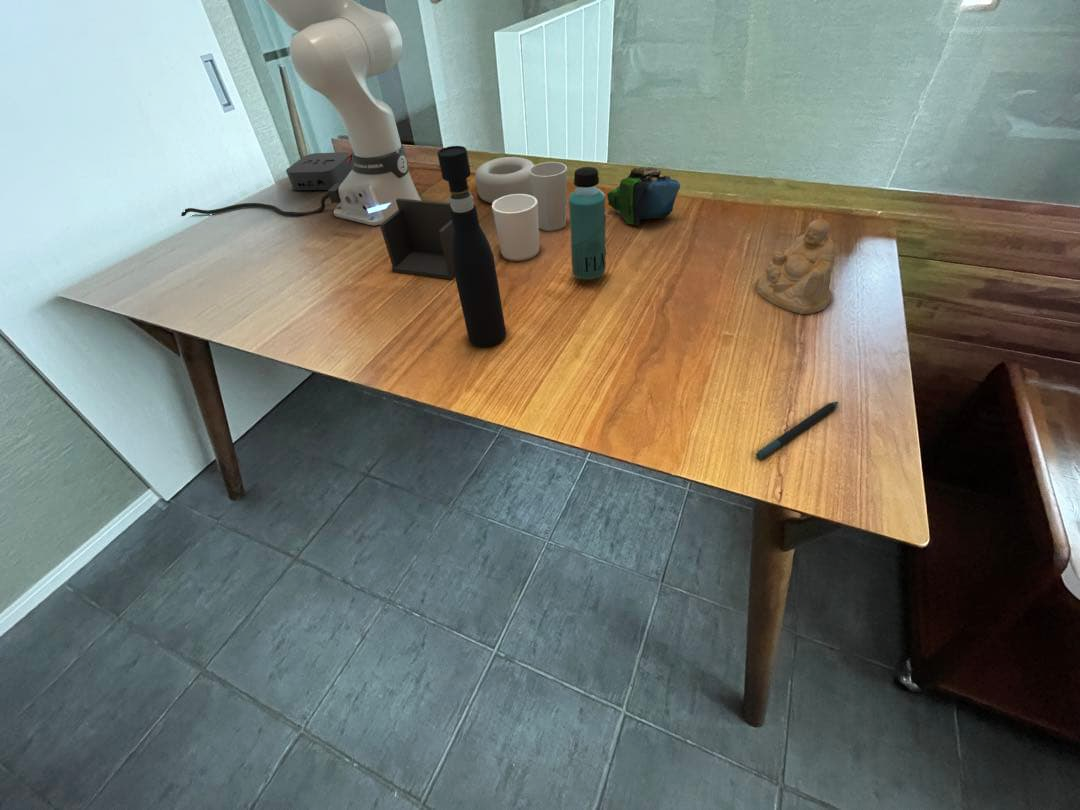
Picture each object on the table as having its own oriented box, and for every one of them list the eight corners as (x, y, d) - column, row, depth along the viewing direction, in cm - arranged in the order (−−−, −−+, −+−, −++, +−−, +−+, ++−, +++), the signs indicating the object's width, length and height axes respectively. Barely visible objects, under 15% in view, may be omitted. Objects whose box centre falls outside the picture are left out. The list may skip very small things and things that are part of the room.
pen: (840, 407, 71) (843, 400, 70) (761, 461, 65) (763, 455, 65) (833, 403, 72) (835, 396, 71) (754, 456, 66) (756, 450, 65)
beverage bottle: (583, 290, 97) (579, 181, 83) (565, 275, 101) (559, 169, 87) (612, 280, 99) (614, 170, 85) (594, 265, 103) (592, 159, 89)
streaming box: (359, 170, 153) (353, 152, 150) (336, 191, 143) (329, 171, 140) (314, 171, 156) (308, 153, 152) (289, 191, 146) (281, 172, 142)
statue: (879, 231, 82) (846, 233, 77) (836, 313, 90) (804, 320, 85) (811, 208, 90) (777, 208, 85) (777, 285, 98) (744, 290, 92)
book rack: (392, 271, 108) (375, 215, 100) (412, 253, 113) (397, 198, 105) (452, 280, 104) (438, 222, 95) (470, 260, 109) (459, 203, 100)
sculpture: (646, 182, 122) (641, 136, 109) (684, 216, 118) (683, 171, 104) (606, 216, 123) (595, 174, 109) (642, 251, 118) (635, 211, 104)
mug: (550, 248, 109) (546, 200, 102) (520, 266, 105) (514, 217, 98) (513, 235, 115) (507, 188, 108) (483, 252, 111) (475, 204, 104)
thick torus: (527, 207, 125) (524, 179, 120) (469, 204, 129) (464, 177, 124) (545, 182, 135) (542, 155, 131) (490, 180, 139) (486, 154, 134)
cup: (570, 215, 120) (568, 161, 112) (568, 231, 114) (565, 175, 106) (536, 216, 121) (531, 163, 113) (532, 232, 115) (526, 177, 107)
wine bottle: (491, 352, 86) (455, 162, 65) (461, 341, 89) (417, 156, 68) (513, 330, 90) (485, 144, 69) (483, 321, 92) (448, 140, 72)
